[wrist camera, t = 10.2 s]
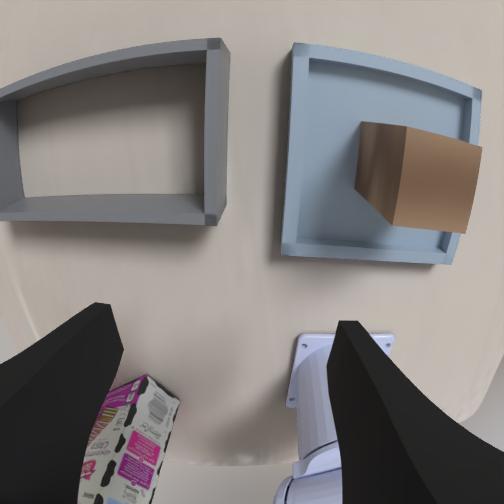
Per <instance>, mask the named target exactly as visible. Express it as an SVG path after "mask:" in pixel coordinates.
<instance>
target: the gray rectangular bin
mask: <svg viewBox="0 0 504 504" xmlns="http://www.w3.org/2000/svg"><path fill="white" fill-rule="evenodd" d="M195 63H206V84H205V123H204V195H191V194H103V195H70V196H49V197H32V198H24V192H23V186H22V178H21V170H20V160H19V149H18V132H17V100H19V99H22V98H25V97H27V96H30V95H33V94H36V93H39V92H42V91H46V90H49V89H52V88H55V87H59V86H62V85H66V84H70V83H73V82H77V81H81V80H86V79H90V78H94V77H99V76H104V75H109V74H114V73H119V72H125V71H131V70H138V69H144V68H152V67H160V66H170V65H181V64H195ZM229 72H230V52H229V50H228V48H227V47H226V45H225V44H224V42H223V41H222V39H221V38H206V39H192V40H181V41H171V42H163V43H156V44H149V45H143V46H137V47H131V48H126V49H121V50H116V51H111V52H107V53H103V54H99V55H95V56H91V57H87V58H83V59H80V60H76V61H73V62H70V63H66V64H63V65H60V66H57V67H54V68H51V69H48V70H45V71H43V72H40V73H37V74H34V75H32V76H29V77H27V78H24V79H22V80H19V81H17V82H15V83H12V84H10V85H8V86H6V87H4V88H1V89H0V221H87V222H130V223H161V224H188V225H211V226H217V224H218V222H219V220H220V218H221V215H222V213H223V211H224V209H225V207H226V185H227V133H228V99H229Z"/></svg>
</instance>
